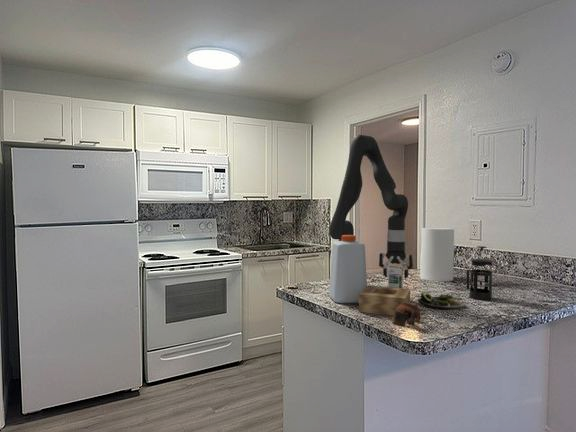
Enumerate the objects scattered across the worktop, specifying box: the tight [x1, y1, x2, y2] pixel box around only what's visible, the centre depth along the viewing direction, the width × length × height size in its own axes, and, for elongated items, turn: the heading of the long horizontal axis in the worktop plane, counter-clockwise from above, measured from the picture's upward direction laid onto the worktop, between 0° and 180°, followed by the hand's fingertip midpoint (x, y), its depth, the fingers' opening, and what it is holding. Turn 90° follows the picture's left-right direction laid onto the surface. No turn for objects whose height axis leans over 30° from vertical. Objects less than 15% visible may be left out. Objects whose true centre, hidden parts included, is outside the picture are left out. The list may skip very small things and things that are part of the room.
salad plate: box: [416, 291, 466, 310], centre depth 168 cm, size 19×18×5 cm
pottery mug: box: [391, 302, 421, 327], centre depth 141 cm, size 12×10×8 cm
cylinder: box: [419, 227, 455, 282], centre depth 223 cm, size 17×17×28 cm
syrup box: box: [387, 265, 404, 288], centre depth 175 cm, size 6×6×14 cm
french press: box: [466, 245, 494, 301], centre depth 179 cm, size 12×9×23 cm
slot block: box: [358, 284, 411, 317], centre depth 160 cm, size 17×17×7 cm
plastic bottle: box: [328, 234, 368, 304], centre depth 175 cm, size 15×15×28 cm
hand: (395, 277), depth 175 cm, fingers open, 8 cm apart
